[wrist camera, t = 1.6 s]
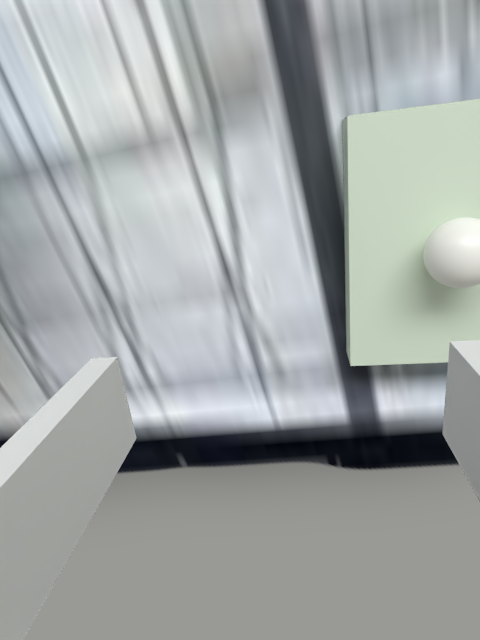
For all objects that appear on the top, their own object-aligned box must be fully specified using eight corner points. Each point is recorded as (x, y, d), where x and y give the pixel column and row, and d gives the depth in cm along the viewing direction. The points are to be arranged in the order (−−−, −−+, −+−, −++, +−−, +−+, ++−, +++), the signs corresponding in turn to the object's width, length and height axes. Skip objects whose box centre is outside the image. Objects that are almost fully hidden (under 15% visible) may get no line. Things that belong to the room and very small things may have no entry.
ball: (413, 280, 26) (433, 299, 23) (416, 216, 25) (438, 226, 21) (480, 275, 26) (512, 295, 22) (487, 210, 24) (522, 218, 21)
